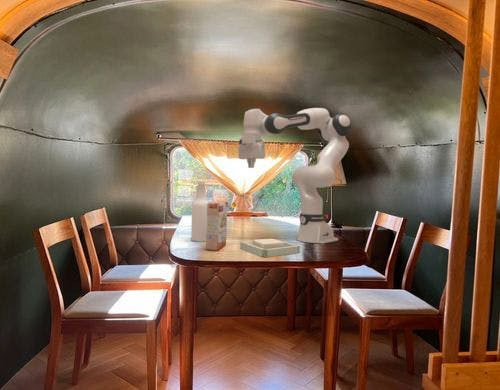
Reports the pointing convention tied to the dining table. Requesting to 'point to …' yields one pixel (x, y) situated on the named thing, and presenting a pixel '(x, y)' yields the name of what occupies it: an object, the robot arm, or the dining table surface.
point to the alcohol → (199, 214)
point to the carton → (268, 243)
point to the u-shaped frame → (271, 252)
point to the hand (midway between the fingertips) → (251, 167)
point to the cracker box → (216, 225)
